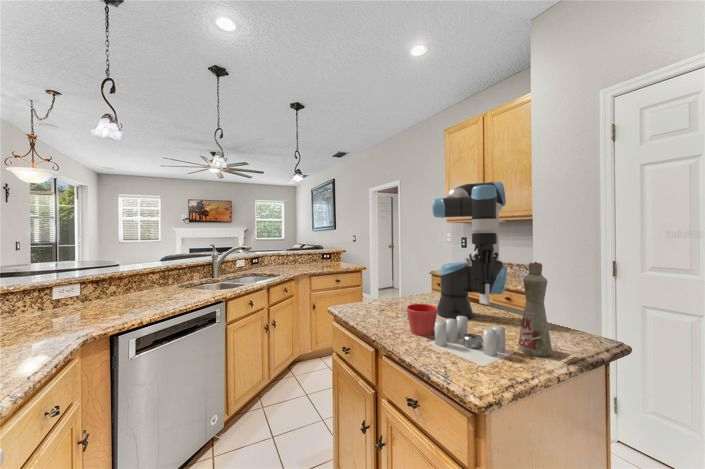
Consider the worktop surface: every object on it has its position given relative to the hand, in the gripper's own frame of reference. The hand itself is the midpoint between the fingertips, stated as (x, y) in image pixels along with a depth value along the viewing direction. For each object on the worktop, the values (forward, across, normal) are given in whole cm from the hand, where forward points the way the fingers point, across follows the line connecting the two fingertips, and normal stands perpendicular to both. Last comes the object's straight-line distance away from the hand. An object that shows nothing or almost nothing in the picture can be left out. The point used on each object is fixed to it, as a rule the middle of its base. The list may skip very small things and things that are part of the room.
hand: (484, 303), depth 94 cm
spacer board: (+14, +8, 0) cm, 16 cm away
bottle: (+14, -6, +13) cm, 20 cm away
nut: (+13, +6, 0) cm, 14 cm away
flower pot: (+14, +10, -18) cm, 25 cm away
